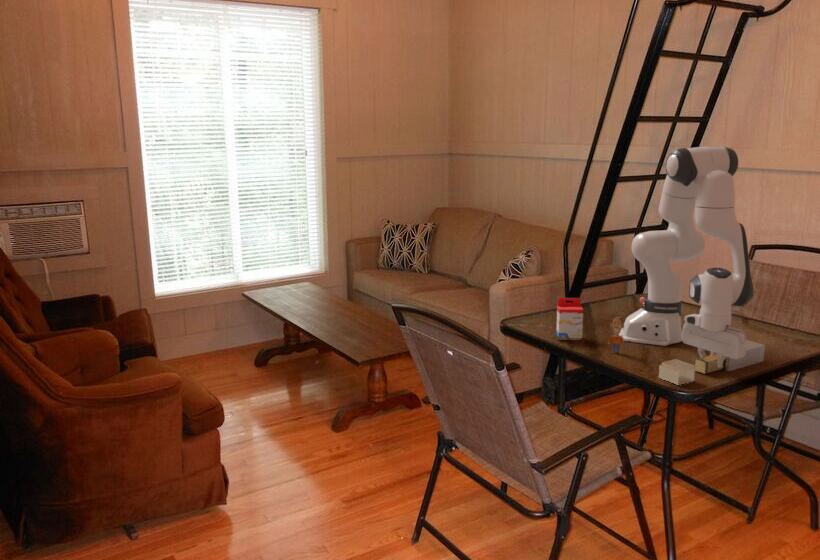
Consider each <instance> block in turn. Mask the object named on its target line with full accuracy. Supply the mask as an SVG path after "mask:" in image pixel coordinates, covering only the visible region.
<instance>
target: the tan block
mask: <svg viewBox="0 0 820 560" xmlns="http://www.w3.org/2000/svg"><path fill="white" fill-rule="evenodd" d="M718 360H719V357H718V354H713V355H710V354H709V355H706V357H702V358H701V357H699V358H695V363H694V365H695V372H699V373H702V374H704V375H706V374H709V373H712V372H716V371H719V370H723V369H725V366H726V359H725V360H724V361H723V363H722V367H721V368H718V367H715V366H714V365H715V361H718Z"/></svg>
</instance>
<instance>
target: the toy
mask: <svg viewBox="0 0 820 560" xmlns="http://www.w3.org/2000/svg"><path fill="white" fill-rule="evenodd" d="M609 325H610V328H612V332H613V335H612V334H611V336H610V337H609V339H608V343H607V344H608V345H612V353H613V352H614V353H616V354H617V353H618V354H619V353H620V349H621V346H622V347H625V341H623V337H621V336H619V333H620V331H621V328H624V323H623V317H622V316H616V317H615V318H613V319H612V322H610V324H609ZM611 343H612V344H611ZM615 350H616V352H615Z"/></svg>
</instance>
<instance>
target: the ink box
mask: <svg viewBox="0 0 820 560" xmlns="http://www.w3.org/2000/svg"><path fill="white" fill-rule="evenodd" d="M569 301H570V302H569ZM581 301H582V300H581V298H580V297H558V299H557V308H556V330H555V331H556V334H557V336H558V337H559V338H582V339H583V326H584V325H583V323H584V308H583V307H582V306H581ZM556 334H555V335H556Z"/></svg>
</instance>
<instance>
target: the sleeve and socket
mask: <svg viewBox="0 0 820 560" xmlns="http://www.w3.org/2000/svg"><path fill="white" fill-rule="evenodd" d="M745 344H746V354H745V356H744V357H743V358H741V359H737V360H736V359H733V358H729V357H726V366H725V368H724V370H725V371H727V372H731V371H734V370H738V369H741V368H745V367H748V366H752V365H755V364H759V363H762V362H764V359H765V349H766V345H765V344H761V343H759V342H755V341H751V340H748V339H745ZM709 353H710V354H709V355H713V354H717V353H714V352H711V351H709ZM695 373H696V371H695V364H691V363H689V362H685V361H683V360H680V359H677V358H674V359H671V360H665V361H662V362H661V364H659V367H658V379H659V378H661V379H663V380H666V381H669V382H671V383H674V384H676V385H680V386H682V385H681V384H684V385H686V384H685V383H687V384H690V383H689V382H691V383H693V381H694V382H695ZM663 380H662V381H663ZM666 381H665V382H666ZM671 383H670V384H671ZM676 385H675V386H676Z"/></svg>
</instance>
